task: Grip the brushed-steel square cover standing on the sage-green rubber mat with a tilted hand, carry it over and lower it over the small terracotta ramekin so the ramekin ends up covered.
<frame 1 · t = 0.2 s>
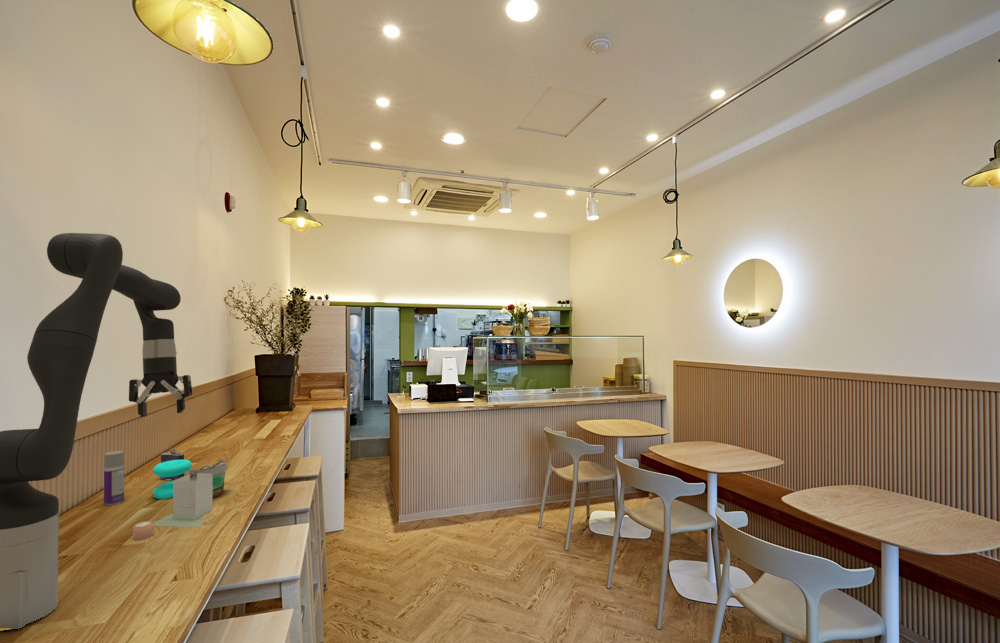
hand: (162, 414, 126), 28 cm above the bar counter, tool pointing down, fingers open, 8 cm apart
donuts: (172, 495, 143), on the bar counter
rubber mat: (193, 516, 126), on the bar counter
terracotta ramekin: (143, 538, 113), on the bar counter
food container: (213, 498, 140), on the bar counter
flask: (172, 480, 159), on the bar counter
steel cover: (193, 515, 126), resting on rubber mat
container: (114, 503, 137), on the bar counter
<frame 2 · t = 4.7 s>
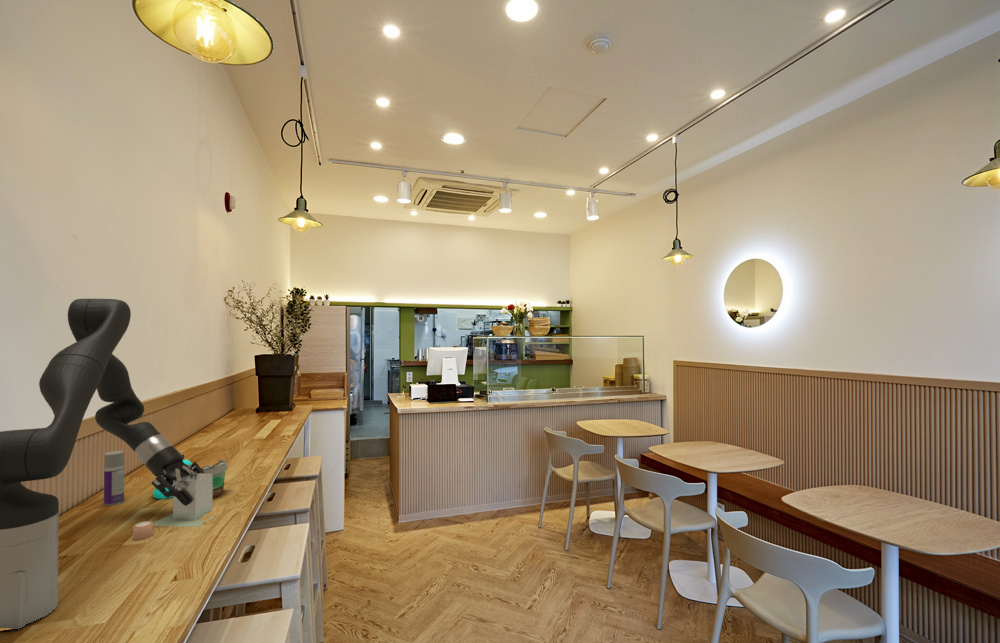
hand: (198, 498, 126), 5 cm above the bar counter, tool tilted 45°, fingers closed on steel cover, 6 cm apart
steel cover: (193, 515, 126), resting on rubber mat, touching gripper
everything else where it was.
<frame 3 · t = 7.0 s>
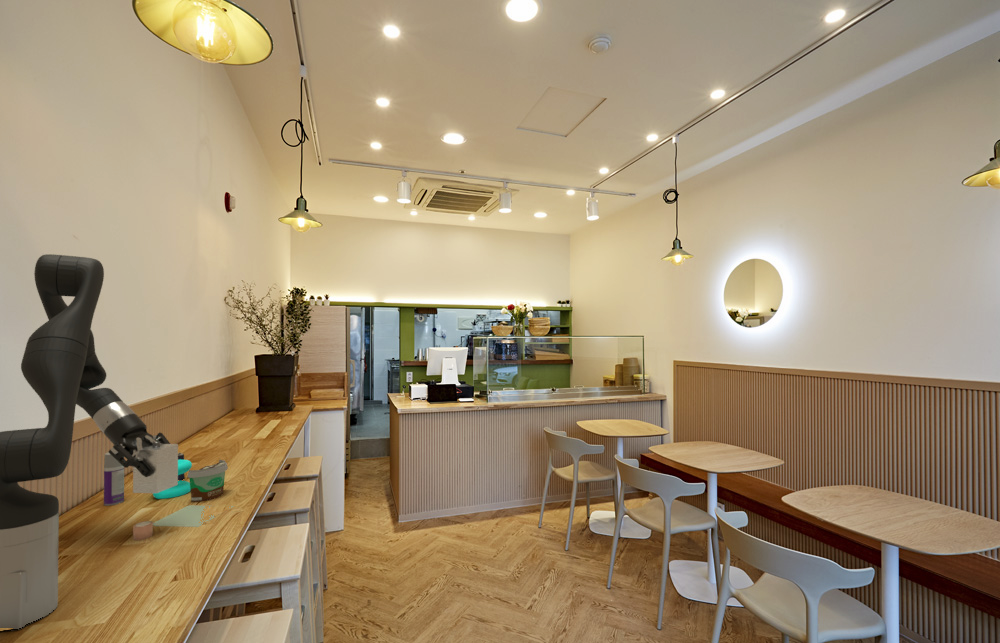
hand: (162, 470, 115), 16 cm above the bar counter, tool tilted 45°, fingers closed on steel cover, 6 cm apart
steel cover: (155, 488, 115), point 11 cm above the bar counter, touching gripper
everything else where it was.
when the fingers open (6 cm above the bar counter, at t = 9.8 s): steel cover drops 1 cm, on the bar counter.
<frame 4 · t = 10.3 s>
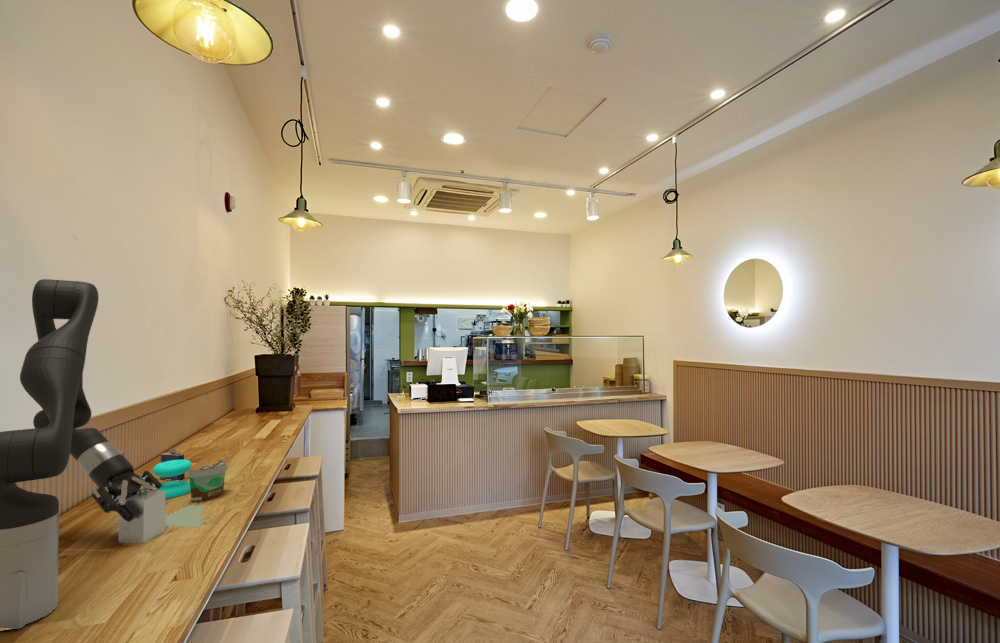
hand: (148, 511, 113), 6 cm above the bar counter, tool tilted 45°, fingers open, 8 cm apart
steel cover: (142, 538, 113), on the bar counter
everything else where it was.
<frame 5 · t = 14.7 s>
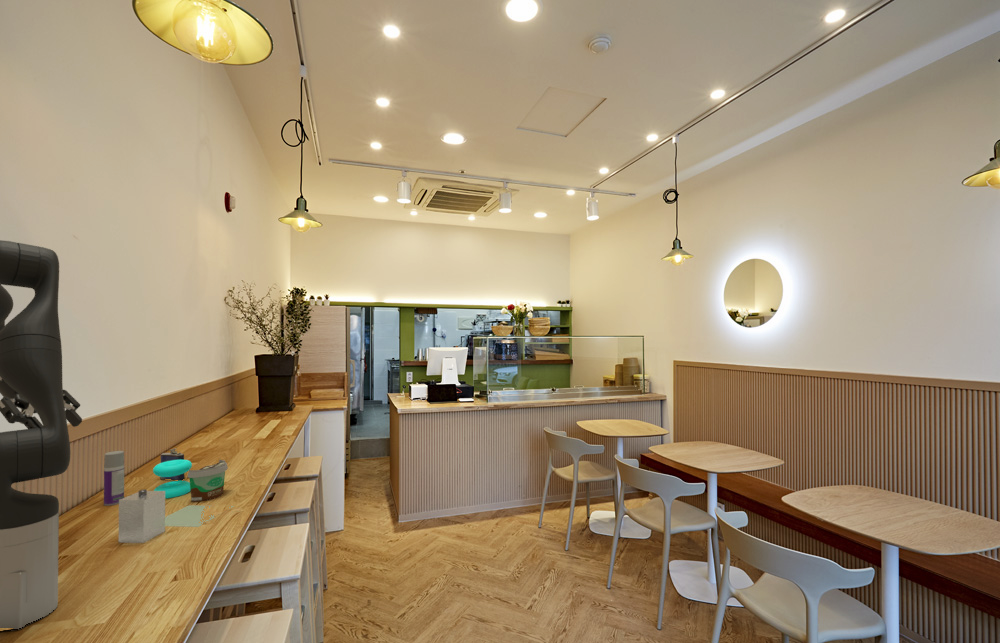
hand: (60, 427, 107), 29 cm above the bar counter, tool tilted 45°, fingers open, 8 cm apart
nothing on the bar counter moved.
at the end: steel cover 0.2 cm off-centre on the terracotta ramekin, point 0.1 cm above the terracotta ramekin's base; steel cover tilted 0°; the gripper is holding nothing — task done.
